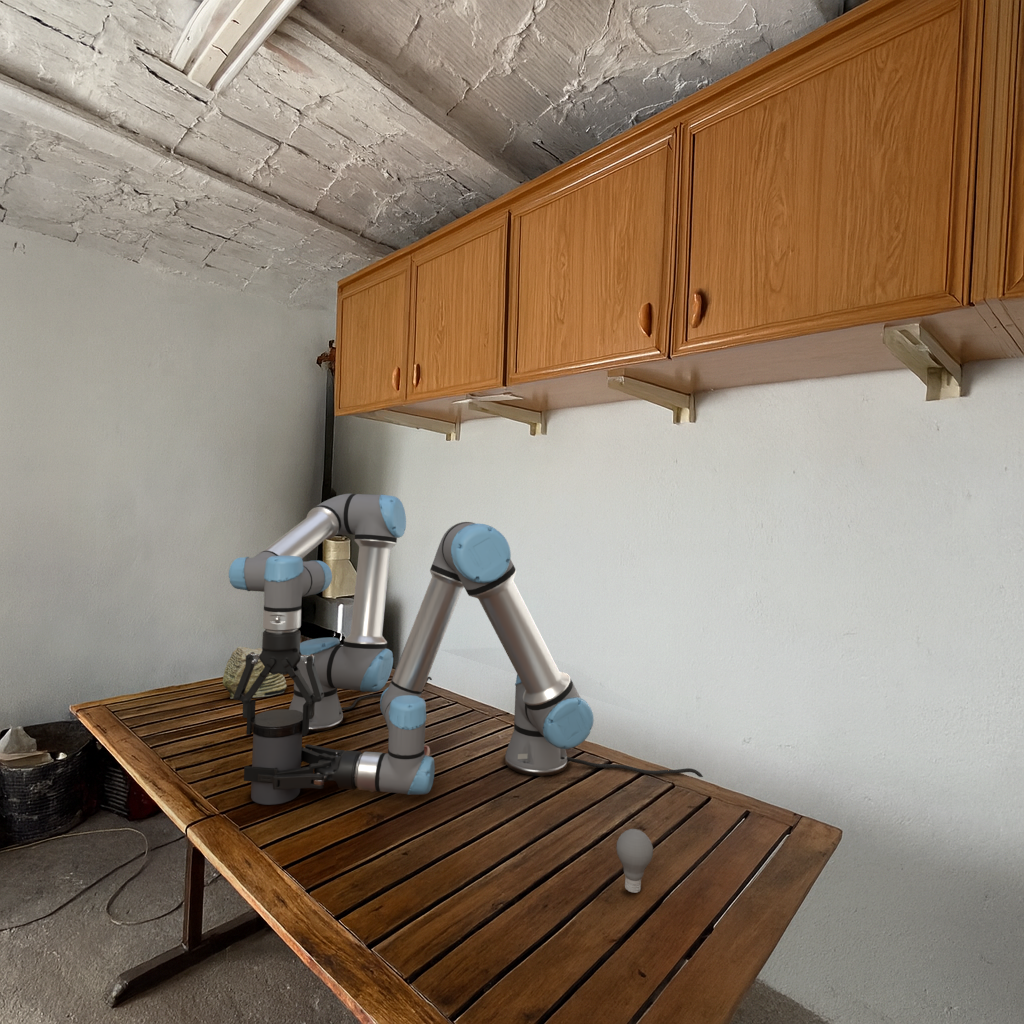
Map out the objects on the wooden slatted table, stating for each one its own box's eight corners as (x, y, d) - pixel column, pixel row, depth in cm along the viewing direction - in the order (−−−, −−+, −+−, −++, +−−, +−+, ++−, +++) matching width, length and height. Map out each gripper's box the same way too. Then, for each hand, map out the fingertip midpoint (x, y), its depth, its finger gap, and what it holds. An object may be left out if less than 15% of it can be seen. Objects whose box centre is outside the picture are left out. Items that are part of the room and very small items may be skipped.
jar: (242, 803, 130) (245, 727, 129) (262, 782, 139) (265, 711, 139) (289, 806, 129) (292, 729, 129) (306, 784, 139) (309, 713, 139)
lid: (295, 738, 129) (295, 727, 129) (241, 736, 128) (242, 725, 128) (311, 719, 139) (312, 710, 139) (262, 717, 139) (262, 708, 139)
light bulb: (610, 879, 108) (613, 822, 108) (644, 879, 109) (647, 822, 109) (619, 902, 102) (622, 840, 102) (655, 901, 103) (658, 840, 103)
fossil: (218, 695, 195) (220, 647, 195) (278, 685, 208) (279, 640, 207) (228, 703, 189) (230, 653, 188) (289, 692, 201) (290, 645, 201)
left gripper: (218, 631, 129) (214, 738, 129) (333, 634, 131) (329, 740, 131) (232, 624, 137) (228, 725, 137) (341, 627, 138) (337, 727, 138)
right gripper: (341, 814, 122) (229, 805, 123) (374, 766, 144) (279, 759, 146) (342, 775, 122) (230, 767, 123) (375, 733, 144) (280, 726, 146)
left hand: (278, 733), depth 134 cm, fingers closed on lid, 11 cm apart
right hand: (257, 762), depth 134 cm, fingers closed on jar, 10 cm apart
